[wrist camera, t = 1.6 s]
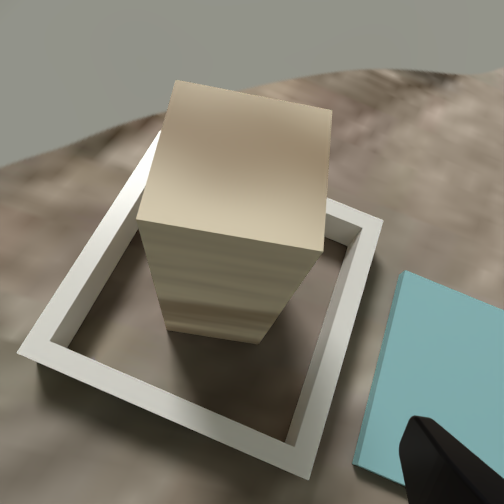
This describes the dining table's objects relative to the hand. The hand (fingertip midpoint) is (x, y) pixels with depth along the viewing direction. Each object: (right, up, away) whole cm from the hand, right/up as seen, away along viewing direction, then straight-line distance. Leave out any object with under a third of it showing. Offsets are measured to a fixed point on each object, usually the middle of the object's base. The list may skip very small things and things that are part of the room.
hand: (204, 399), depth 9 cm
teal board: (+13, -5, +14) cm, 20 cm away
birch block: (-1, +1, +14) cm, 14 cm away
